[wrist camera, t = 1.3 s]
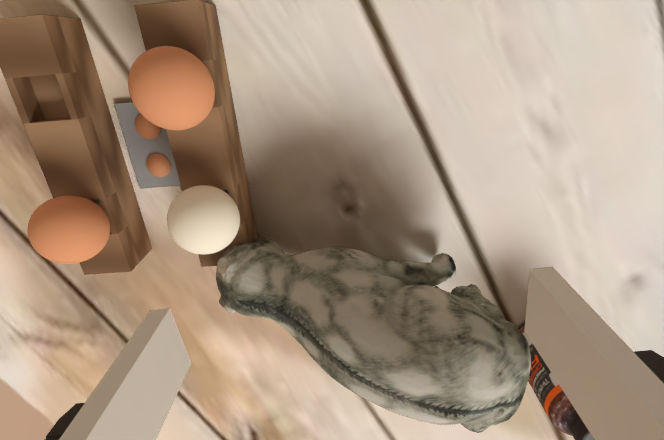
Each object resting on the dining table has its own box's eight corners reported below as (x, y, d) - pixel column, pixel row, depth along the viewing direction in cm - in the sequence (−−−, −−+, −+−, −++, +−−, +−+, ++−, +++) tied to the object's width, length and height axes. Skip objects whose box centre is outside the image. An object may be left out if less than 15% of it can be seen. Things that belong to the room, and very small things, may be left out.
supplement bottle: (505, 323, 39) (566, 423, 28) (566, 309, 38) (652, 406, 28) (511, 366, 41) (570, 472, 31) (568, 354, 40) (649, 459, 30)
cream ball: (175, 178, 29) (145, 203, 25) (240, 173, 29) (222, 197, 24) (190, 237, 31) (165, 269, 27) (251, 233, 31) (236, 265, 26)
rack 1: (27, 24, 28) (-19, 20, 24) (80, 19, 28) (41, 14, 24) (110, 251, 36) (84, 274, 32) (152, 248, 36) (130, 271, 32)
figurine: (435, 183, 36) (211, 188, 30) (581, 362, 22) (224, 438, 16) (406, 257, 42) (215, 273, 36) (509, 434, 28) (228, 509, 22)
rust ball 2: (141, 49, 25) (99, 50, 21) (215, 42, 25) (188, 41, 21) (161, 125, 27) (126, 141, 23) (230, 119, 27) (208, 134, 23)
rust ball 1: (48, 188, 30) (-5, 214, 25) (111, 183, 29) (70, 208, 25) (71, 245, 32) (26, 279, 27) (130, 241, 31) (95, 274, 27)
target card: (116, 103, 30) (113, 104, 30) (171, 98, 30) (168, 99, 30) (141, 186, 33) (139, 189, 33) (191, 183, 33) (189, 185, 32)
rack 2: (161, 11, 28) (134, 5, 24) (215, 5, 27) (197, -1, 24) (215, 244, 35) (201, 266, 32) (258, 241, 35) (249, 263, 31)
